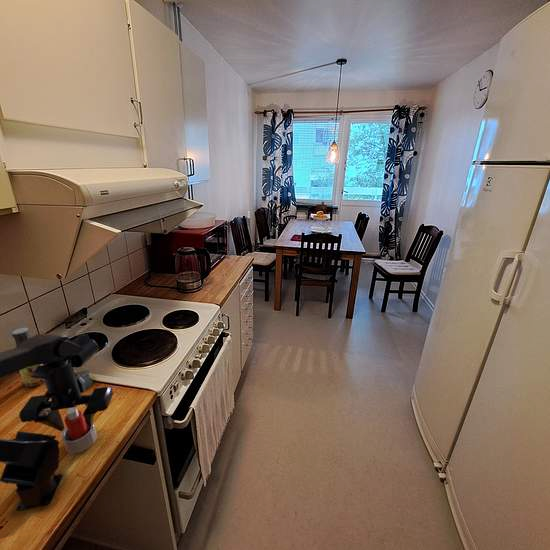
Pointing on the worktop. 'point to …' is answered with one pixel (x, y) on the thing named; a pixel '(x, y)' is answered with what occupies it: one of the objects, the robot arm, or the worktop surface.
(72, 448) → the short metal can
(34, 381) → the sauce bottle
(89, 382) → the coaster
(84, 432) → the ketchup
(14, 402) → the worktop surface
